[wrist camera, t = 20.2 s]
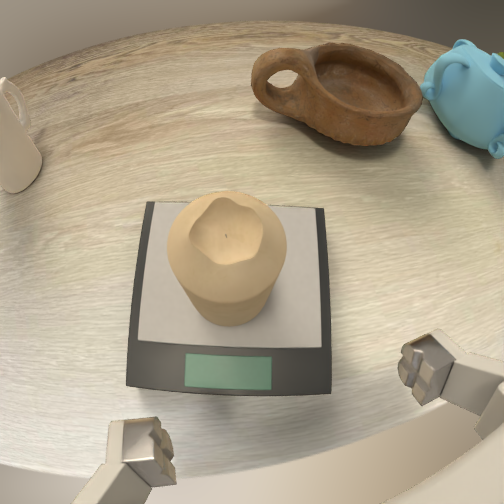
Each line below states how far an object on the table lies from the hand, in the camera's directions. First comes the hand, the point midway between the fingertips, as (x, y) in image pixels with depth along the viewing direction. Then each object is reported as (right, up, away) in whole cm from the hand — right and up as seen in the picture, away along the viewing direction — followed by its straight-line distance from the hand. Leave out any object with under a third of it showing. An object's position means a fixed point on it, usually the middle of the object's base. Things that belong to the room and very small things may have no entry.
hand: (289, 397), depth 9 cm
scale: (-3, +1, +16) cm, 17 cm away
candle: (-3, +2, +14) cm, 14 cm away
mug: (-29, +15, +21) cm, 39 cm away
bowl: (+7, +20, +25) cm, 32 cm away
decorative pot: (+31, +24, +28) cm, 48 cm away
